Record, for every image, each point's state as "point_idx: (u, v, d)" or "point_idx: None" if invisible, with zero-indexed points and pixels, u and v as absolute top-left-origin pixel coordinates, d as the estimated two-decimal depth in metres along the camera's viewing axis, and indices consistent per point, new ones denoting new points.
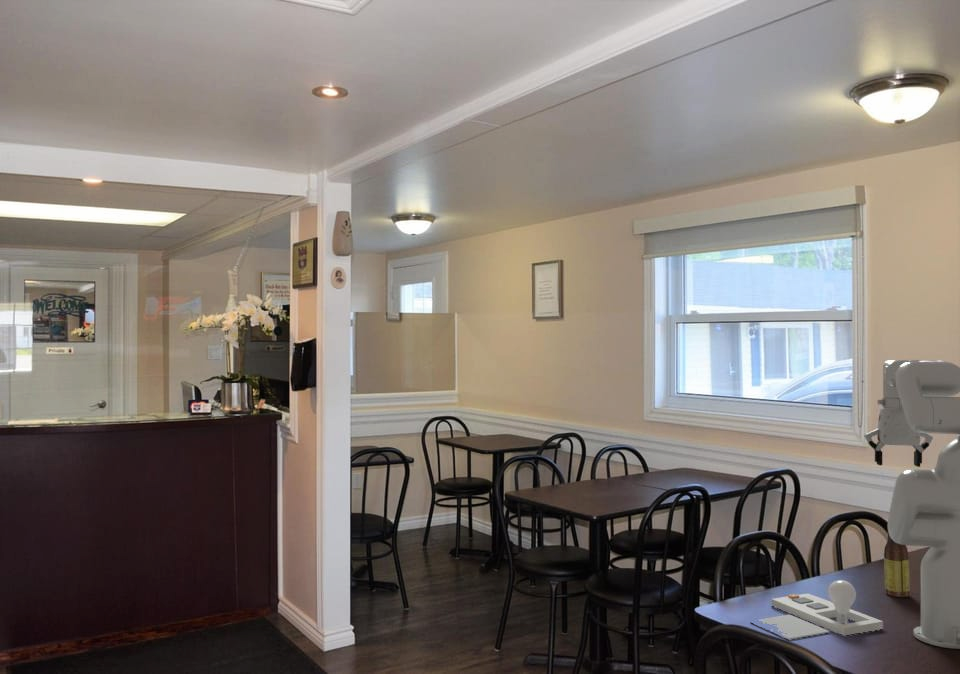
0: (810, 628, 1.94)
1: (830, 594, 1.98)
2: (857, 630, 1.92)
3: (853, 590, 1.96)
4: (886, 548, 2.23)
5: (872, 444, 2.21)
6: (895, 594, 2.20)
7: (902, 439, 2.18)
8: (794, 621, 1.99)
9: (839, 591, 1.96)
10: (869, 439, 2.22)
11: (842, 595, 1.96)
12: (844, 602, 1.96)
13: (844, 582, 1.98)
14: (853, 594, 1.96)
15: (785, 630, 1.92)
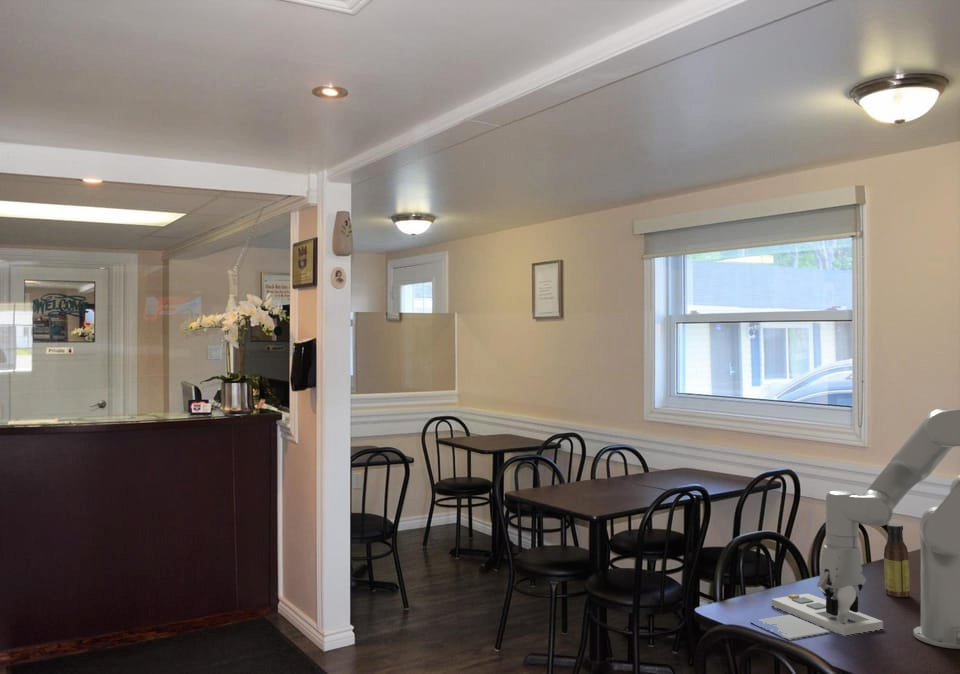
0: (810, 628, 1.94)
1: None
2: (857, 630, 1.92)
3: (853, 590, 1.96)
4: (886, 548, 2.23)
5: None
6: (895, 594, 2.20)
7: None
8: (794, 621, 1.99)
9: (839, 591, 1.96)
10: None
11: (842, 594, 1.96)
12: (844, 602, 1.96)
13: None
14: (853, 594, 1.96)
15: (785, 630, 1.92)
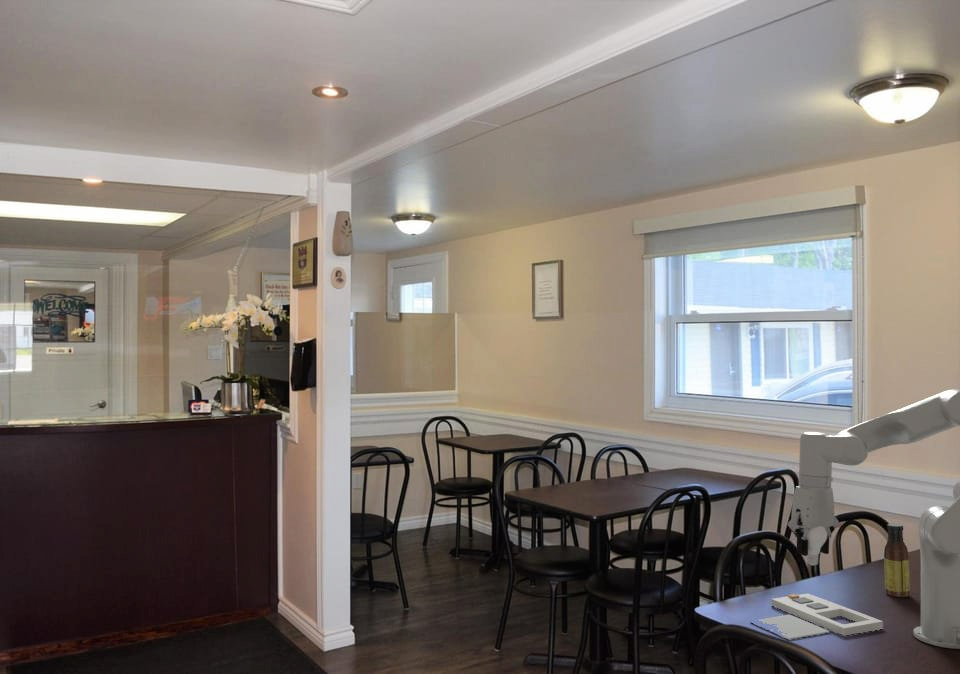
0: (810, 628, 1.94)
1: None
2: (857, 630, 1.92)
3: (824, 531, 1.95)
4: (886, 548, 2.22)
5: None
6: (895, 594, 2.20)
7: None
8: (794, 621, 1.99)
9: (810, 531, 1.95)
10: None
11: (812, 535, 1.95)
12: (814, 542, 1.95)
13: None
14: (823, 535, 1.95)
15: (785, 630, 1.92)
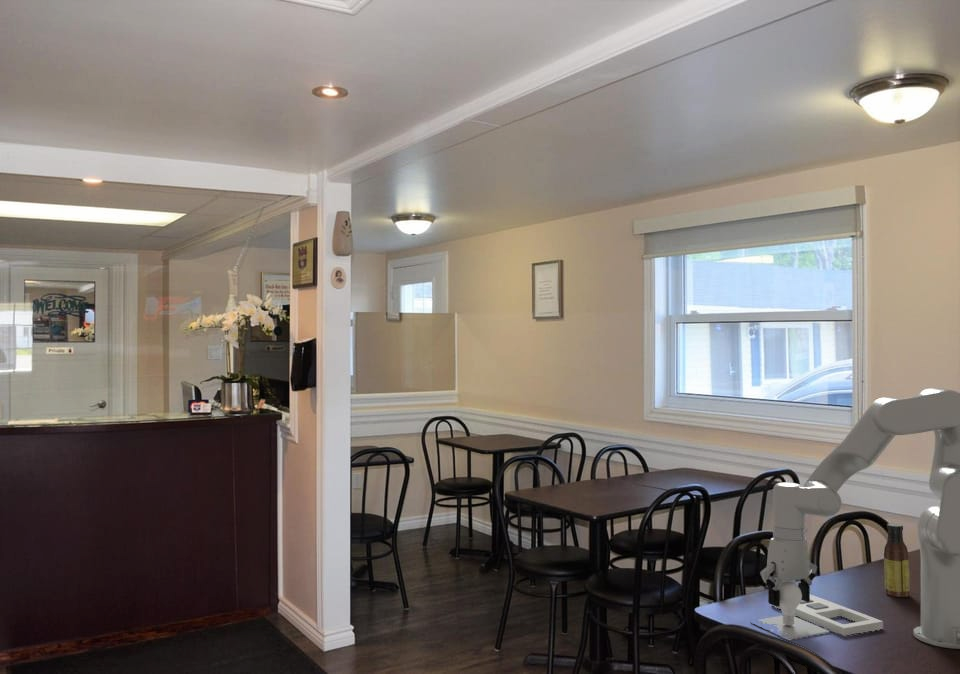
0: (810, 628, 1.94)
1: None
2: (857, 630, 1.92)
3: (798, 591, 1.93)
4: (886, 548, 2.23)
5: None
6: (895, 594, 2.20)
7: None
8: (794, 621, 1.99)
9: (785, 592, 1.93)
10: None
11: (787, 596, 1.93)
12: (789, 604, 1.93)
13: (790, 583, 1.94)
14: (798, 596, 1.93)
15: (785, 630, 1.92)
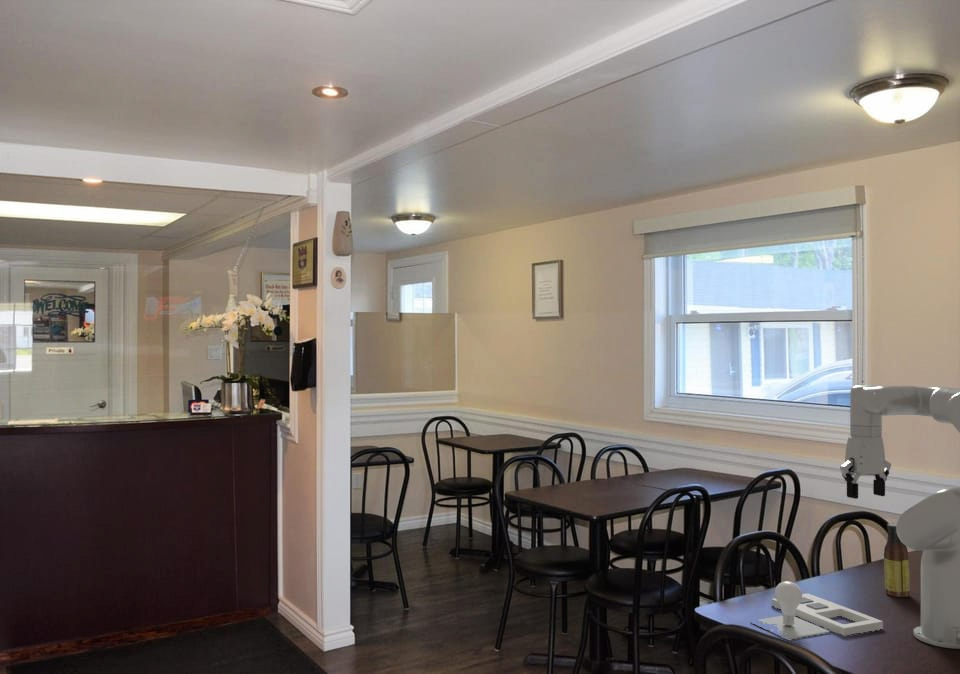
0: (810, 628, 1.94)
1: (776, 595, 1.95)
2: (857, 630, 1.92)
3: (799, 591, 1.93)
4: (886, 548, 2.23)
5: None
6: (895, 594, 2.20)
7: None
8: (794, 621, 1.99)
9: (785, 592, 1.93)
10: None
11: (787, 596, 1.93)
12: (789, 604, 1.93)
13: (790, 583, 1.95)
14: (798, 596, 1.93)
15: (785, 630, 1.92)
